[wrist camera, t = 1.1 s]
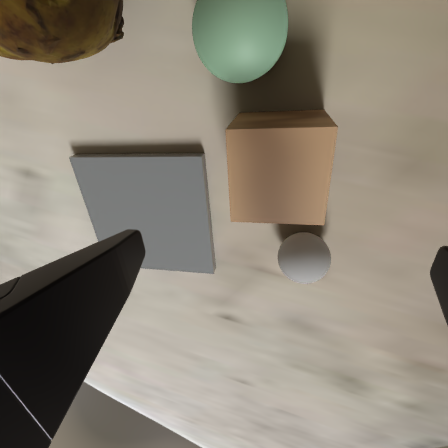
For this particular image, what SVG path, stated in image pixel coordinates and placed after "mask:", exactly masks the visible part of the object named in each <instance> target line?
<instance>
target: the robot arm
mask: <svg viewBox="0 0 448 448" xmlns="http://www.w3.org/2000/svg"><path fill="white" fill-rule="evenodd" d="M145 253H146V252H145V246H144V242H143V238H142V234H141V232H140V231H139V230H134V229H127V230H125V231H122V232H120V233H118V234H115V235H113V236H111V237H108V238H106V239H104V240H102V241H99V242H97V243H95V244H92V245H90V246H88V247H86V248H83V249H81V250H79V251H76V252H74V253H72V254H70V255H67V256H65V257H63V258H60V259H58V260H56V261H54V262H51V263H49V264H47V265H44V266H42V267H40V268H37V269H35V270H33V271H31V272H28V273H26V274H24V275H22V276H21V277H17V278H14V279H12V280H10V281H8V282H5V283H3V284H1V285H0V448H49V446H50V444H51V440H52V439H53V438H54V436H55V434H56V432H57V430H58V428H59V426H60V424H61V423H62V421H63V419H64V417H65V415H66V413H67V411H68V409H69V407H70V406H71V404H72V402H73V400H74V398H75V396H76V394H77V393H78V391H79V389H80V387H81V385H82V383H83V381H84V379H85V378H86V376H87V374H88V372H89V370H90V368H91V366H92V364H93V362H94V361H95V359H96V357H97V355H98V353H99V351H100V349H101V347H102V346H103V344H104V342H105V340H106V338H107V336H108V334H109V332H110V331H111V329H112V327H113V325H114V323H115V321H116V319H117V317H118V315H119V314H120V312H121V310H122V308H123V306H124V304H125V302H126V300H127V298H128V296H129V294H130V292H131V290H132V288H133V285H134V283H135V280H136V278H137V275H138V273H139V270H140V268H141V265H142V263H143V260H144V258H145ZM430 277H431V280H432V283H433V286H434V289H435V291H436V294H437V297H438V300H439V303H440V306H441V309H442V312H443V315H444V317H445V320H446V323H447V325H448V246H442V247H440V249H439V250H438V252H437V255H436V257H435V260H434V262H433V264H432V267H431V270H430Z"/></svg>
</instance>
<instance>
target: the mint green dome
mask: <svg viewBox="0 0 448 448" xmlns="http://www.w3.org/2000/svg"><path fill="white" fill-rule="evenodd" d="M287 31H288V12H287V6H286V2H285V0H197V2H196V5H195V8H194V13H193V20H192V34H193V40H194V44H195V48H196V51H197V53H198V55H199V57H200V59H201V61H202V63H203V64H204V66H205V67H206V68H207V69H208V70H209V71H210V72H211V73H212V74H213V75H215V76H216V77H218V78H220V79H222V80H224V81H227V82H231V83H245V82H249V81H252V80H255V79H257V78H259V77H260V76H262V75H263V74H265V73H266V72H268V71H269V70H270V69H271V68H272V67H273V66H274V65H275V64H276V62H277V61H278V59H279V58H280V56H281V54H282V52H283V50H284V47H285V44H286V39H287Z"/></svg>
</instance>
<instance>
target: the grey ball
mask: <svg viewBox="0 0 448 448" xmlns="http://www.w3.org/2000/svg"><path fill="white" fill-rule="evenodd" d="M278 263H279V266H280V268H281V270H282V272H283V273H284V274H285V275H286V276H287V277H288V278H289V279H291V280H292V281H294V282H297V283H303V284H308V283H313V282H316V281H318V280H320V279H321V278H322V277H323V276H324V275H325V274H326V273H327V271H328V269H329V267H330V263H331V254H330V251H329V248H328V246H327V245H326V243H325V242H324V241H323V240H322V239H321V238H320V237H318V236H316V235H314V234H312V233H307V232H300V233H295V234H293V235H291V236H289V237H288V238H286V239H285V240H284V241H283V243H282V244H281V246H280V248H279V251H278Z"/></svg>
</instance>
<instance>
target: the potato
mask: <svg viewBox="0 0 448 448" xmlns="http://www.w3.org/2000/svg"><path fill="white" fill-rule="evenodd" d="M122 11H123V0H0V56H1V57H6V58H10V59H16V60H35V61H40V62H46V63H52V64H54V63H63V62H70V61H75V60H79V59H83V58H87V57H90V56H92V55H94V54H97V53H99V52H100V51H102V50H103V49H105V48H106V47H107V46H108V45H109V44H110V43H112V42H115V41H117V40H119V39H122V38H123V36H124V33H123V32H122V27H123V25H124V19H123V17H122Z"/></svg>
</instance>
